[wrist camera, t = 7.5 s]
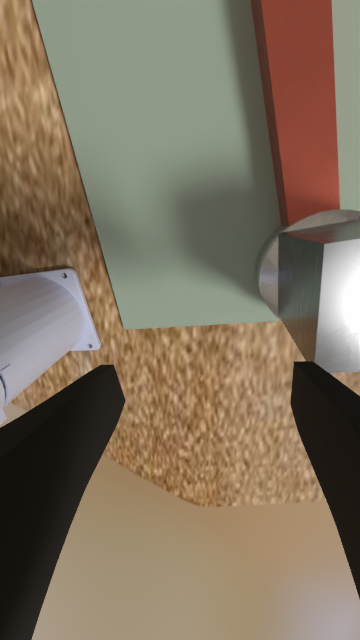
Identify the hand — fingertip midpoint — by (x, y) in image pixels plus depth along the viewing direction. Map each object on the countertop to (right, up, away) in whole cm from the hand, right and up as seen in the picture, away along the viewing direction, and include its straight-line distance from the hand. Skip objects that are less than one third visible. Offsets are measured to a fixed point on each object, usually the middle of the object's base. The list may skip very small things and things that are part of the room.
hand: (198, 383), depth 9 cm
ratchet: (+6, +11, +4) cm, 14 cm away
